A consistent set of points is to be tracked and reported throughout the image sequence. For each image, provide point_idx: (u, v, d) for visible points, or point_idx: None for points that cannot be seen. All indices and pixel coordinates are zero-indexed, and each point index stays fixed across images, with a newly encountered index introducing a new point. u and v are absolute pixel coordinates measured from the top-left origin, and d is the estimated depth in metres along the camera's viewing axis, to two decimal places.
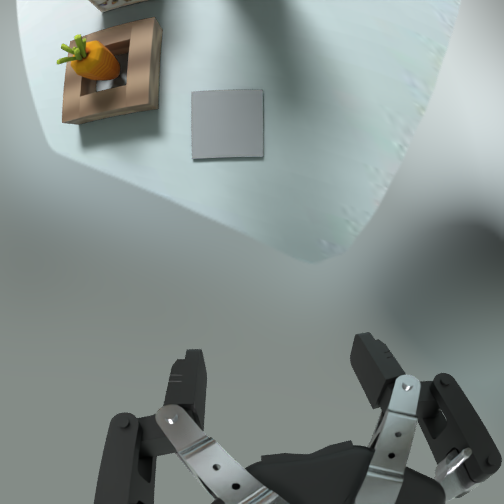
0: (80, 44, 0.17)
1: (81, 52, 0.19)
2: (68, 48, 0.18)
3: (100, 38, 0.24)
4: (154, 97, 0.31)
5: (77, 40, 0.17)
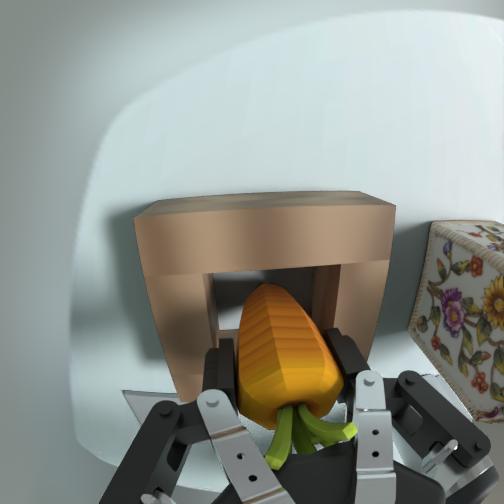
0: None
1: (293, 441, 0.09)
2: None
3: (361, 299, 0.15)
4: None
5: None
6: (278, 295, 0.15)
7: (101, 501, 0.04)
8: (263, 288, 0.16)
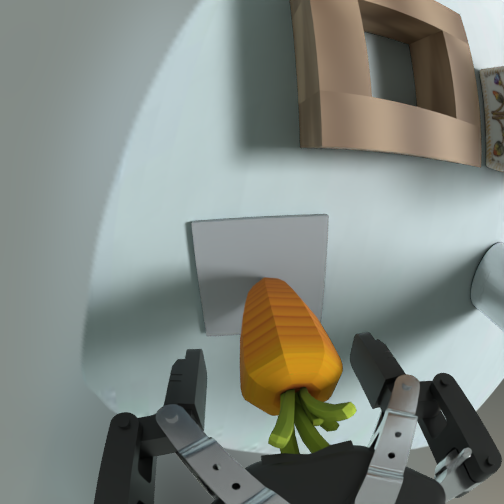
0: None
1: (296, 425, 0.09)
2: None
3: (462, 63, 0.11)
4: None
5: None
6: (279, 287, 0.16)
7: None
8: (264, 281, 0.17)
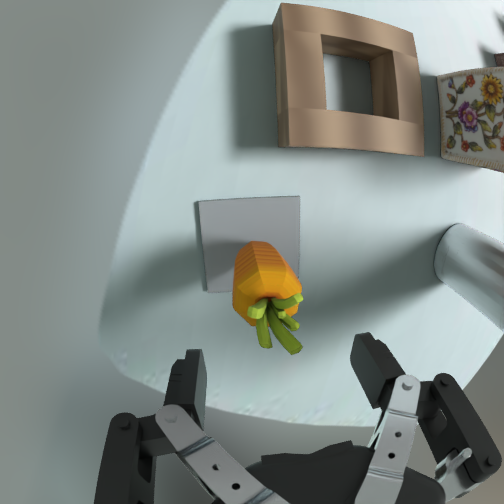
0: None
1: (269, 322, 0.16)
2: None
3: (408, 75, 0.18)
4: None
5: (288, 350, 0.15)
6: (261, 243, 0.23)
7: None
8: (251, 241, 0.24)
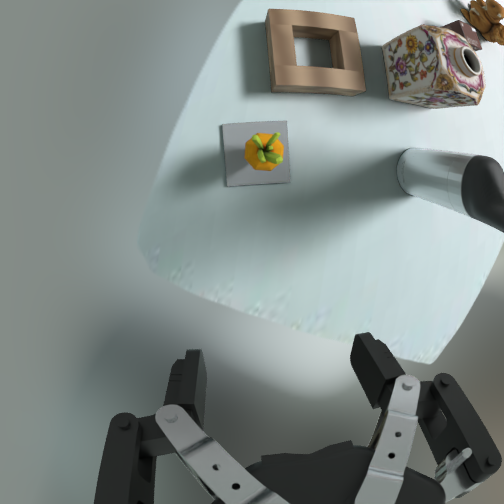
0: (270, 161, 0.27)
1: (264, 156, 0.28)
2: (272, 141, 0.27)
3: (350, 44, 0.30)
4: (282, 89, 0.35)
5: (274, 160, 0.27)
6: None
7: None
8: None
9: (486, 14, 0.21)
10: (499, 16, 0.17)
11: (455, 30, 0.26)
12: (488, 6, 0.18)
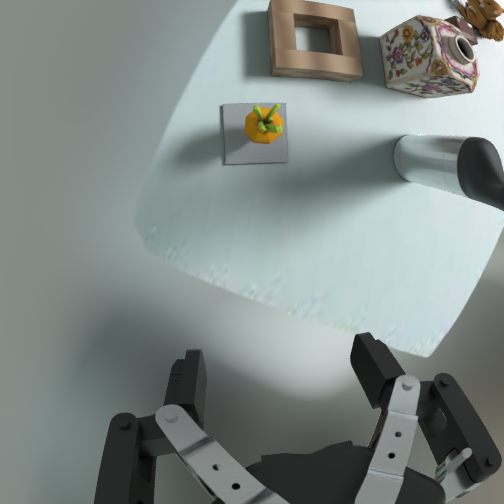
0: (270, 130, 0.27)
1: (264, 127, 0.28)
2: (272, 112, 0.27)
3: (348, 32, 0.30)
4: (282, 72, 0.35)
5: (274, 129, 0.26)
6: None
7: None
8: None
9: (482, 11, 0.22)
10: (495, 13, 0.18)
11: None
12: (484, 3, 0.19)
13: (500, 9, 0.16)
